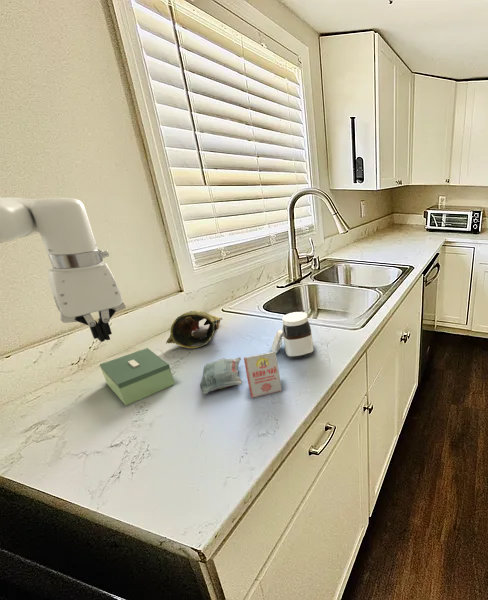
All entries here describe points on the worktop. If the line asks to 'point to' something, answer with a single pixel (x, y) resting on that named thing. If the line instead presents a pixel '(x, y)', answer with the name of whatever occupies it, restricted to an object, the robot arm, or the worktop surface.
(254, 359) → the cream red carton
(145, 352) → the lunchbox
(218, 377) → the packaged food
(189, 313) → the pot
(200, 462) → the worktop surface
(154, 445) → the worktop surface
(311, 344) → the spread jar
